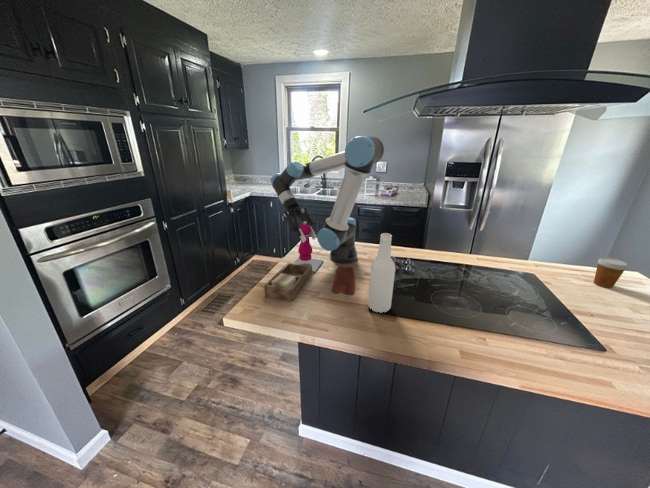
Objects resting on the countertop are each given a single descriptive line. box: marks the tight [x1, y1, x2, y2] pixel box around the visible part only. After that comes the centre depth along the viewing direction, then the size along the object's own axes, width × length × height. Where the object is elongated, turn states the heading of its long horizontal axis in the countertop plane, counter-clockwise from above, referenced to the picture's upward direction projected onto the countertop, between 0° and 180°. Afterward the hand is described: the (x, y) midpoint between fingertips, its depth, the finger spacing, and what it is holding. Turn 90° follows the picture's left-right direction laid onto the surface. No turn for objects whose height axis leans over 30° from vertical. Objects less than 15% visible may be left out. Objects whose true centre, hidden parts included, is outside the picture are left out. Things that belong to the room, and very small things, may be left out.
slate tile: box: [293, 257, 324, 274], centre depth 137 cm, size 14×14×1 cm
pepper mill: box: [297, 221, 313, 261], centre depth 133 cm, size 7×7×20 cm
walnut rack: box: [263, 261, 313, 302], centre depth 117 cm, size 12×24×5 cm, turn 163°
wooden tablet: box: [331, 266, 356, 296], centre depth 124 cm, size 27×10×2 cm, turn 173°
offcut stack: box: [272, 274, 296, 289], centre depth 112 cm, size 9×9×6 cm
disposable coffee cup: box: [593, 257, 629, 289], centre depth 119 cm, size 10×10×12 cm
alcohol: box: [367, 232, 396, 314], centre depth 98 cm, size 9×9×30 cm
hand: (309, 239), depth 129 cm, fingers closed on pepper mill, 6 cm apart
